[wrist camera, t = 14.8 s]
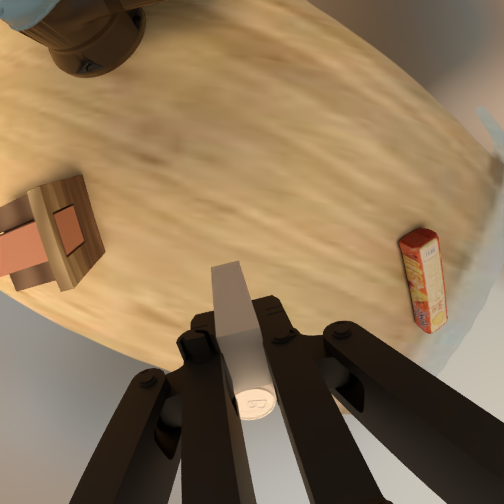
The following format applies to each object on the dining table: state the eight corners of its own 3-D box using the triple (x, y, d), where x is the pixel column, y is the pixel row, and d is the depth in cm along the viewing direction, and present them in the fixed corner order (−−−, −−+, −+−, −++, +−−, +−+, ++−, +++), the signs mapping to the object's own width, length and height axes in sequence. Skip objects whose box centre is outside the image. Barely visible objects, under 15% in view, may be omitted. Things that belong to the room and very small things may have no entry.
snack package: (434, 309, 58) (452, 323, 52) (411, 324, 58) (429, 341, 52) (420, 223, 51) (443, 232, 44) (393, 238, 51) (415, 250, 44)
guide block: (82, 174, 40) (39, 185, 27) (105, 252, 44) (73, 288, 31) (15, 202, 39) (-34, 222, 26) (38, 271, 43) (-2, 308, 30)
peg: (73, 205, 35) (53, 214, 30) (84, 240, 37) (67, 255, 31) (2, 233, 34) (-20, 245, 29) (13, 264, 36) (-7, 279, 30)
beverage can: (222, 339, 52) (228, 385, 40) (268, 342, 53) (283, 386, 42) (217, 374, 54) (222, 421, 43) (260, 376, 55) (272, 421, 44)
